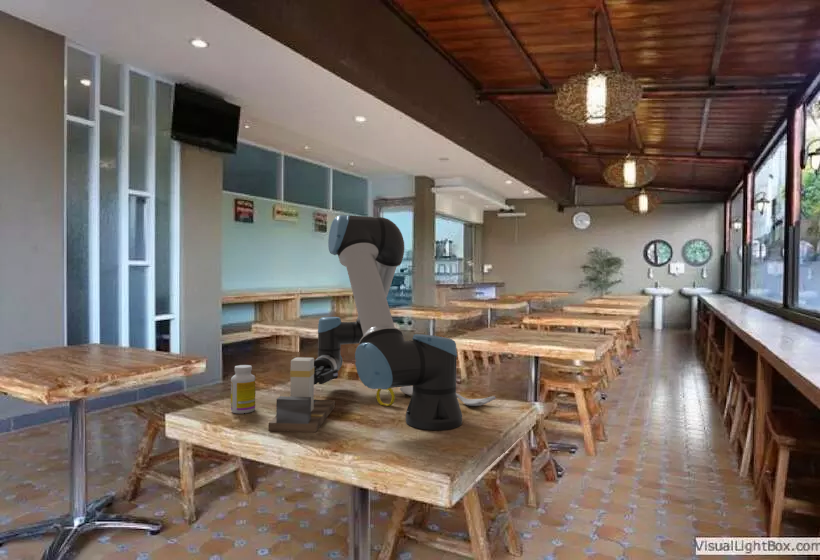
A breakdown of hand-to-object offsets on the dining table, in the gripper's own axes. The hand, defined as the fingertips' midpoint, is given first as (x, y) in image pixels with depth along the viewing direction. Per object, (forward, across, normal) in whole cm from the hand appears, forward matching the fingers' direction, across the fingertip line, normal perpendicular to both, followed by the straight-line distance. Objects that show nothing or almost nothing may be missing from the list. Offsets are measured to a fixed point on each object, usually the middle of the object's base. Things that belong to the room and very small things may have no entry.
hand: (303, 385), depth 142 cm
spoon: (-23, -39, -9) cm, 46 cm away
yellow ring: (-15, -21, -9) cm, 28 cm away
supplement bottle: (-5, +19, -9) cm, 21 cm away
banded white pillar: (+3, 0, -6) cm, 7 cm away
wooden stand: (0, 0, -9) cm, 9 cm away
